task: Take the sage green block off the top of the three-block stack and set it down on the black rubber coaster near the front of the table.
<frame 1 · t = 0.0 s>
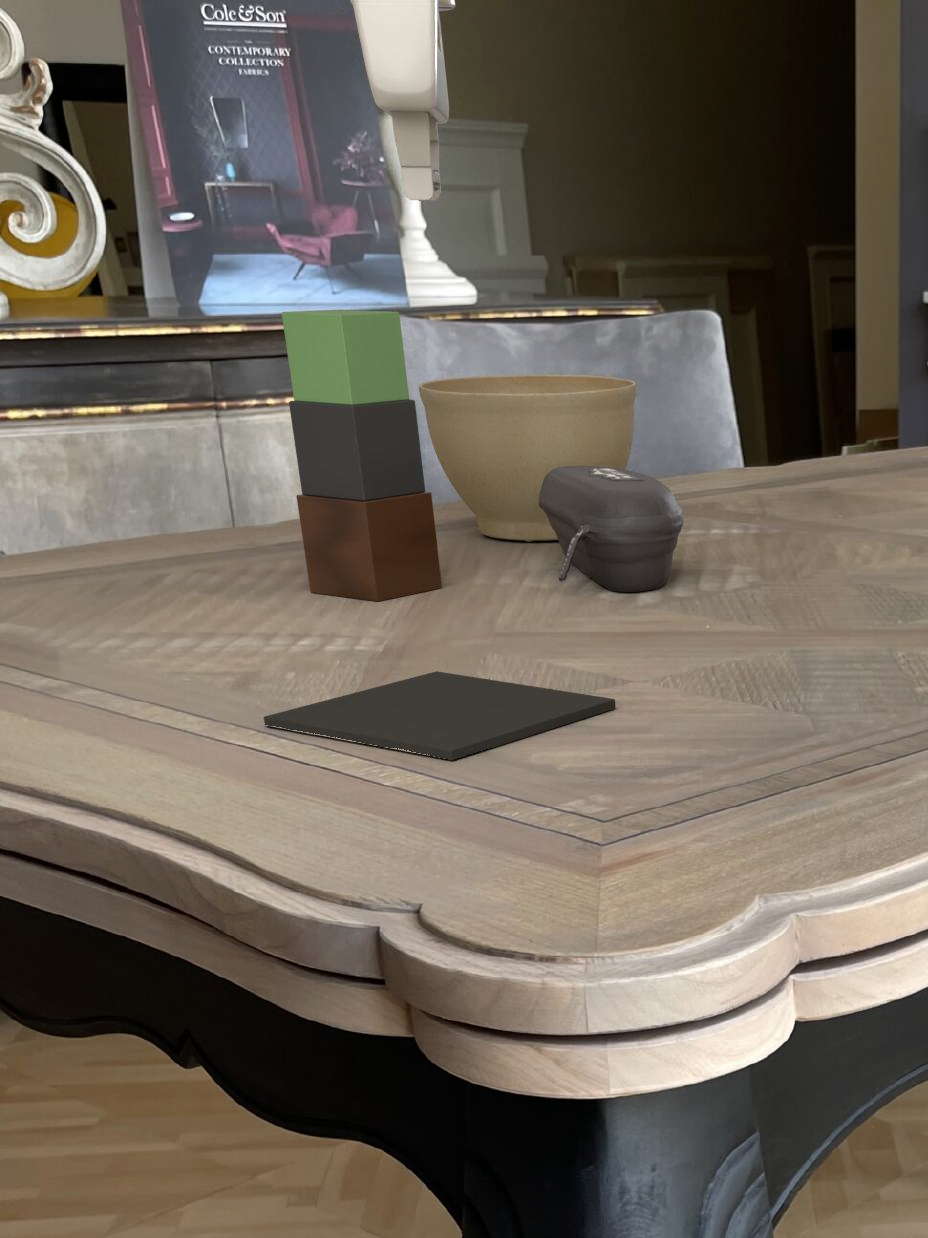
hand: (424, 201, 116), 23 cm above the table, tool pointing down, fingers open, 8 cm apart
planter bowl: (541, 536, 141), on the table
charcoal block: (364, 493, 116), point 6 cm above the table, touching green block, walnut block
glasses case: (607, 578, 125), on the table
coaster: (444, 717, 89), on the table
green block: (352, 400, 114), point 11 cm above the table, touching charcoal block
walnut block: (376, 590, 119), on the table, touching charcoal block
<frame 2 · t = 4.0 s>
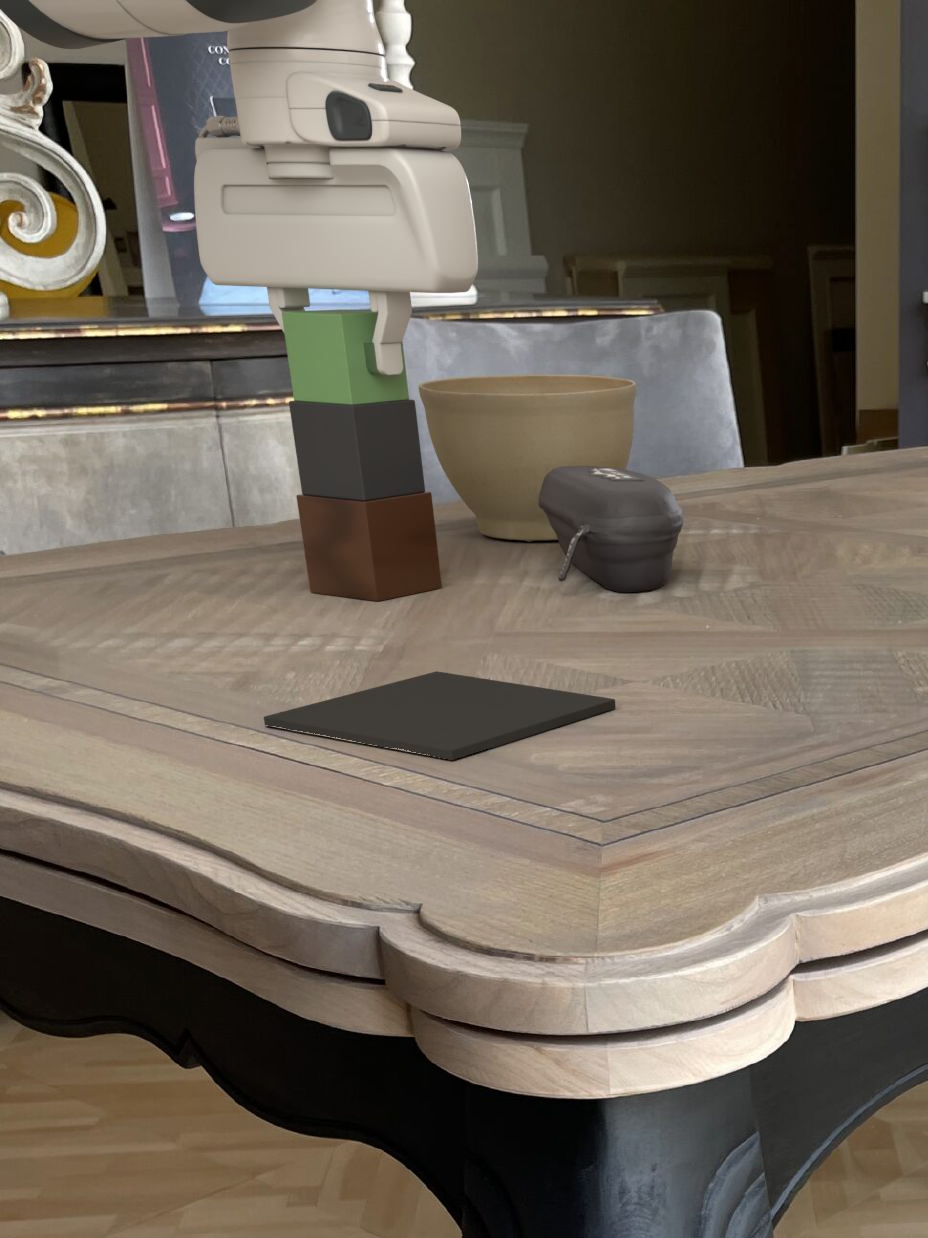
hand: (348, 372, 113), 13 cm above the table, tool pointing down, fingers closed on green block, 5 cm apart
green block: (352, 400, 114), point 11 cm above the table, touching charcoal block, gripper
everything else where it was.
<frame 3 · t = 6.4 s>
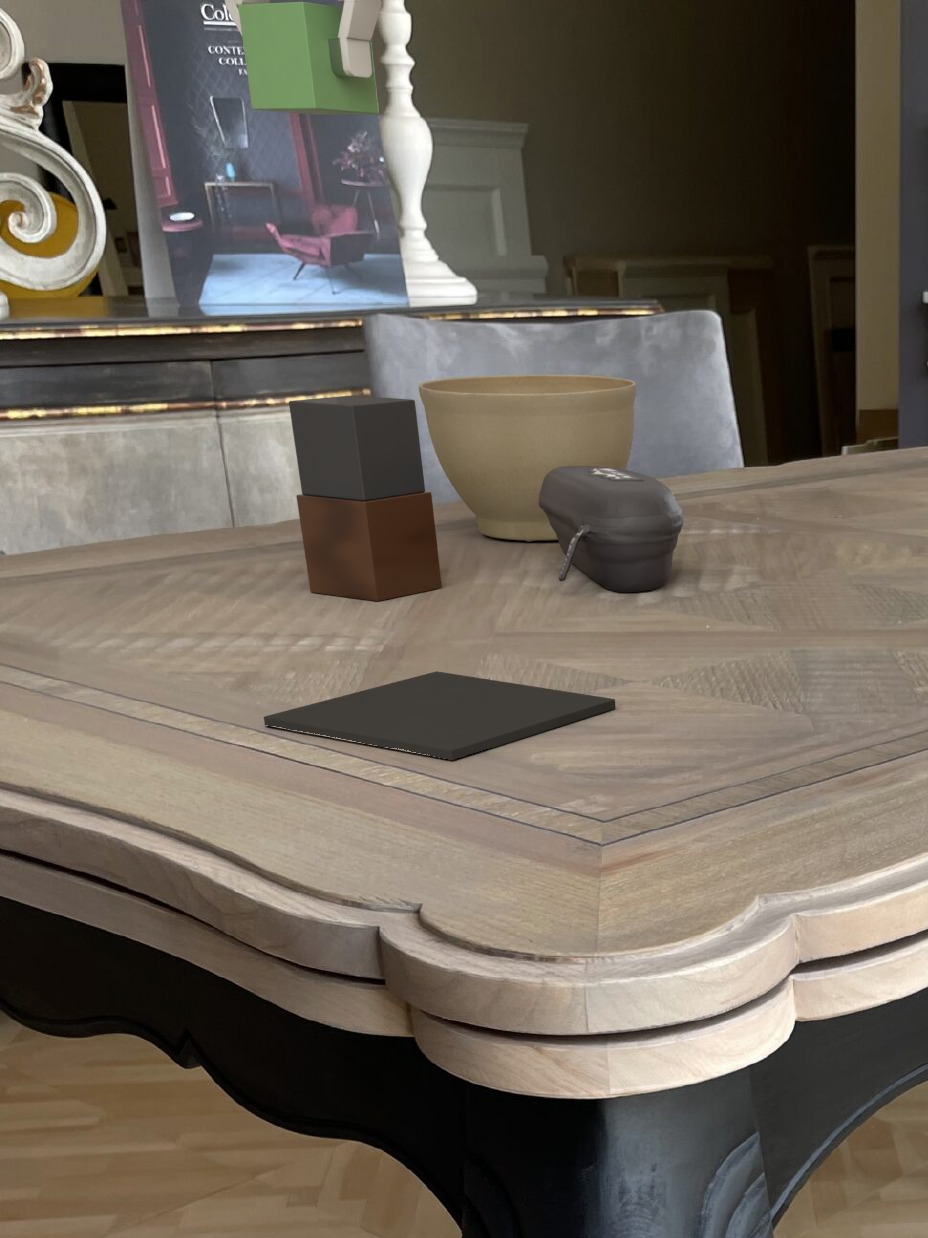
hand: (312, 78, 103), 29 cm above the table, tool pointing down, fingers closed on green block, 5 cm apart
charcoal block: (364, 493, 116), point 6 cm above the table, touching walnut block
green block: (316, 112, 104), point 27 cm above the table, touching gripper
everything else where it was.
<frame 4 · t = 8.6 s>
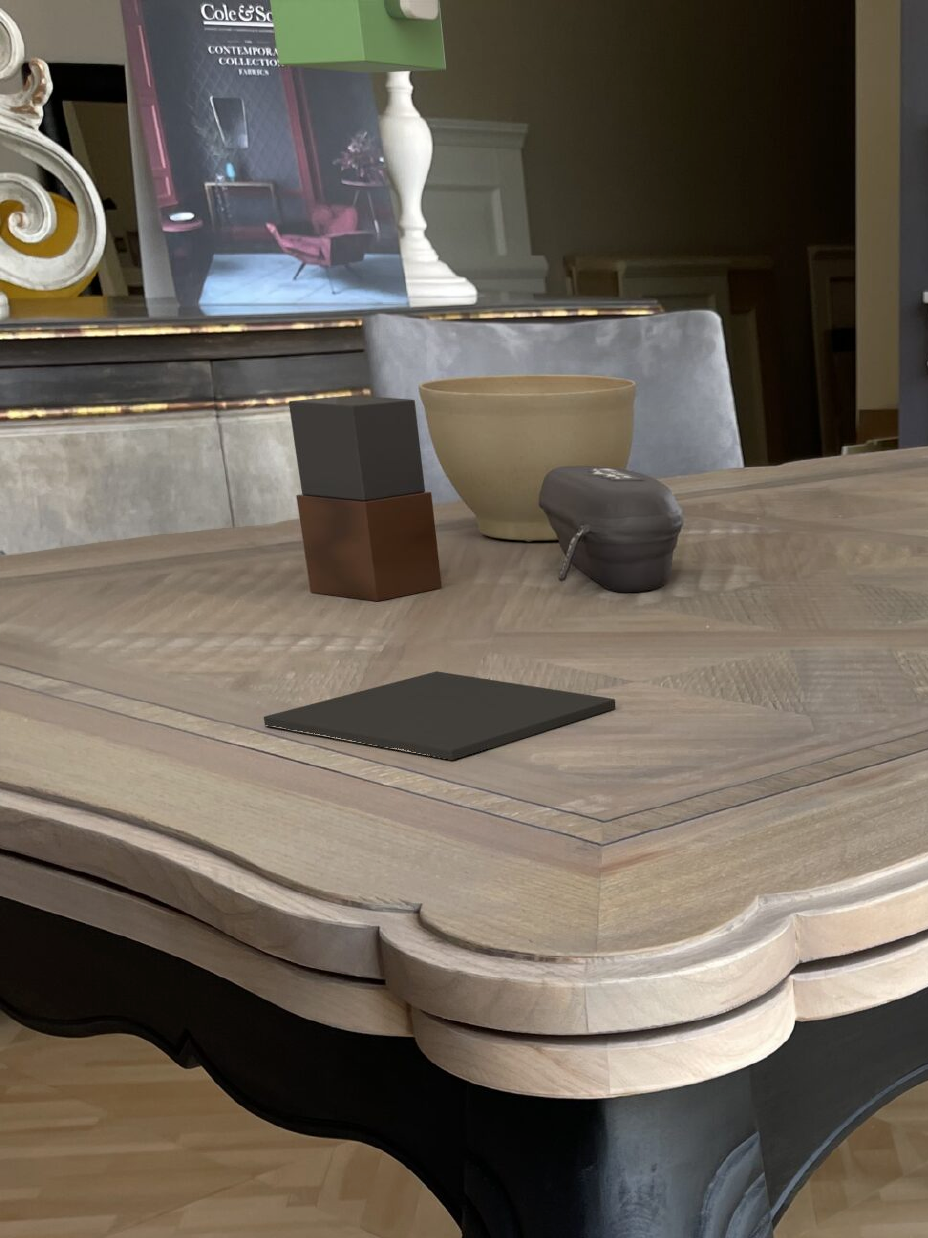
hand: (357, 22, 77), 29 cm above the table, tool pointing down, fingers closed on green block, 5 cm apart
green block: (363, 67, 78), point 27 cm above the table, touching gripper
everything else where it was.
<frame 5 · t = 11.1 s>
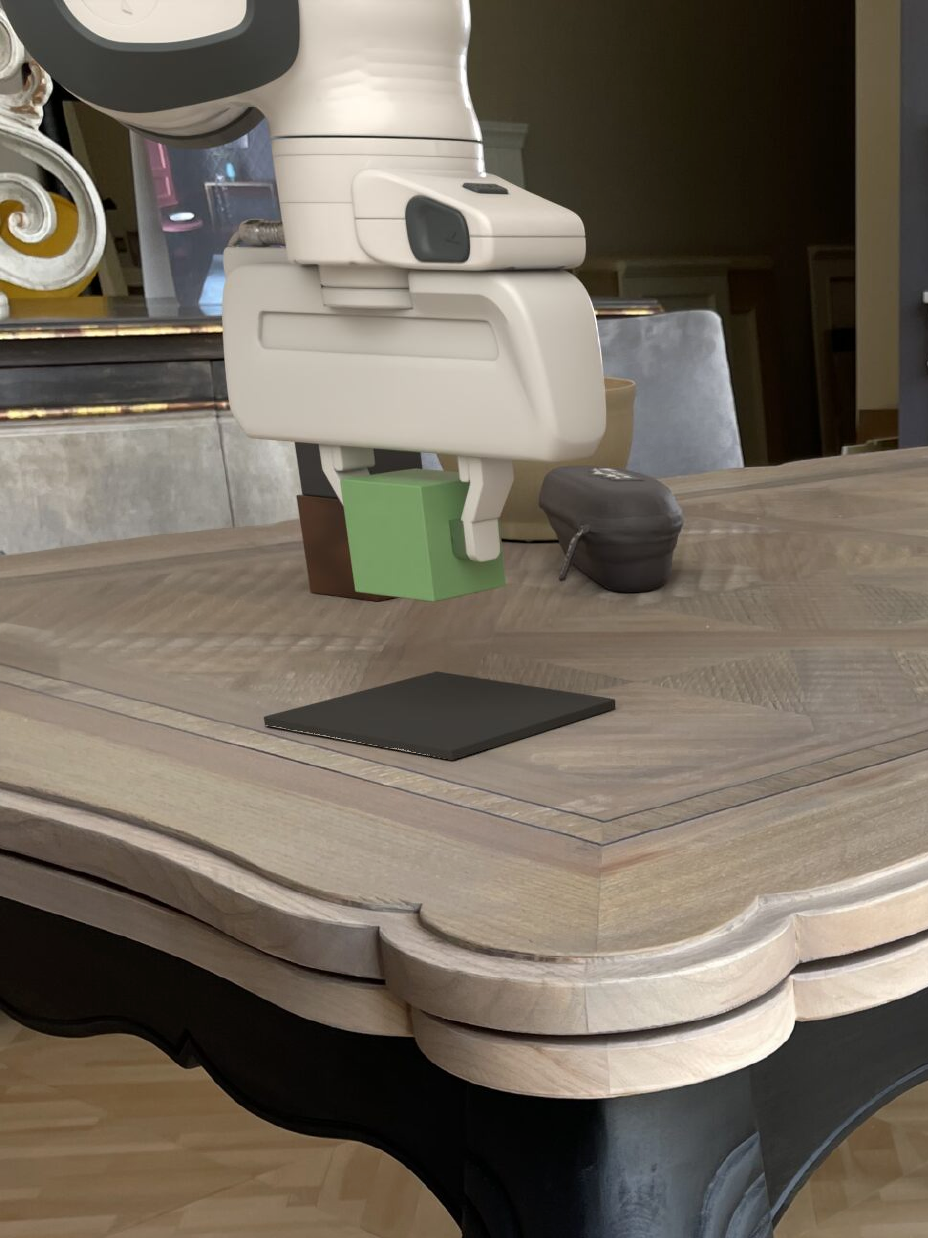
hand: (426, 553, 85), 8 cm above the table, tool pointing down, fingers closed on green block, 5 cm apart
green block: (431, 589, 86), point 6 cm above the table, touching gripper
everything else where it was.
when the fingers open (2 cm above the table, at t = 13.1 s): green block stays where it is, resting on coaster.
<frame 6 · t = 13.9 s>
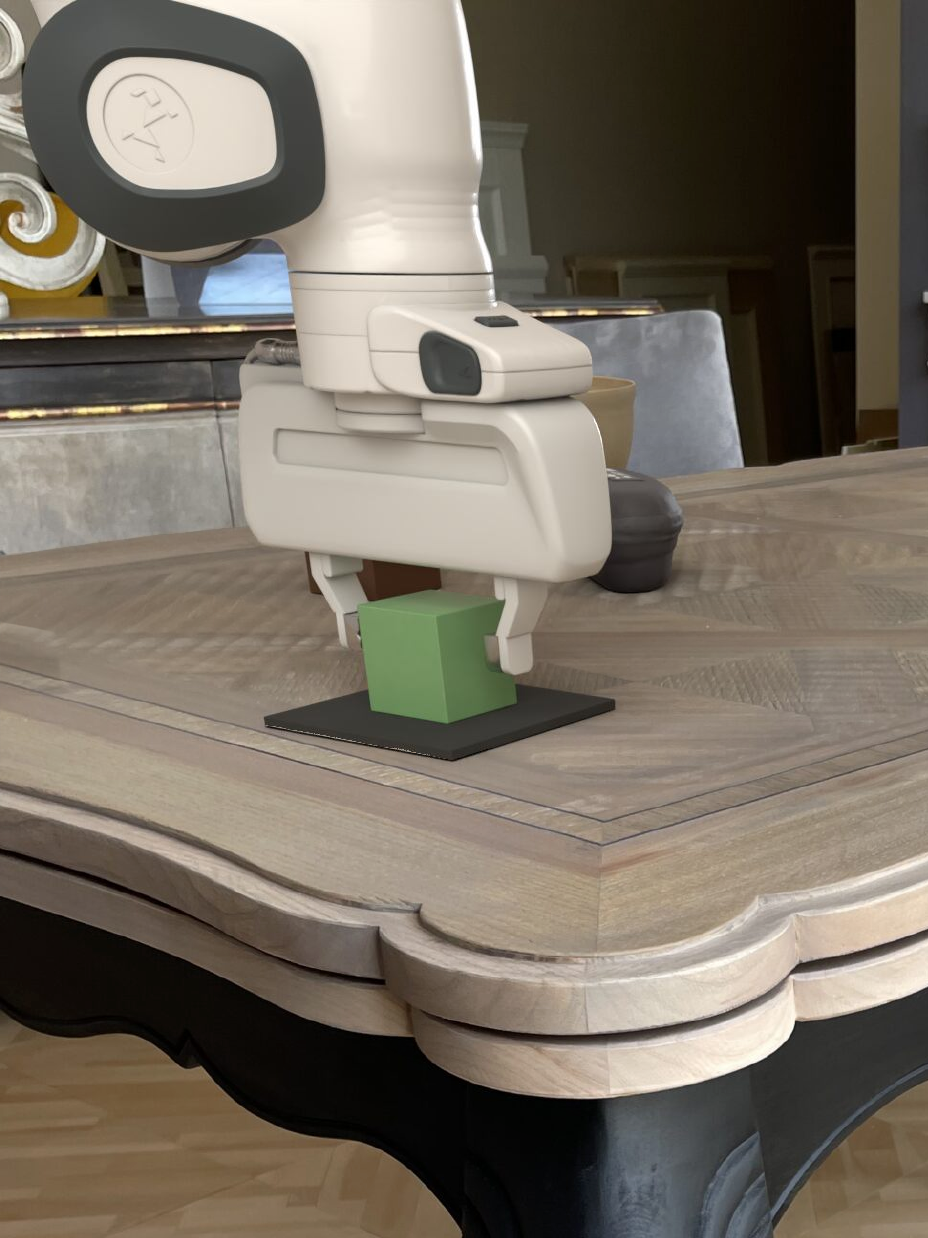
hand: (435, 660, 88), 3 cm above the table, tool pointing down, fingers open, 8 cm apart
green block: (444, 707, 89), resting on coaster
everything else where it was.
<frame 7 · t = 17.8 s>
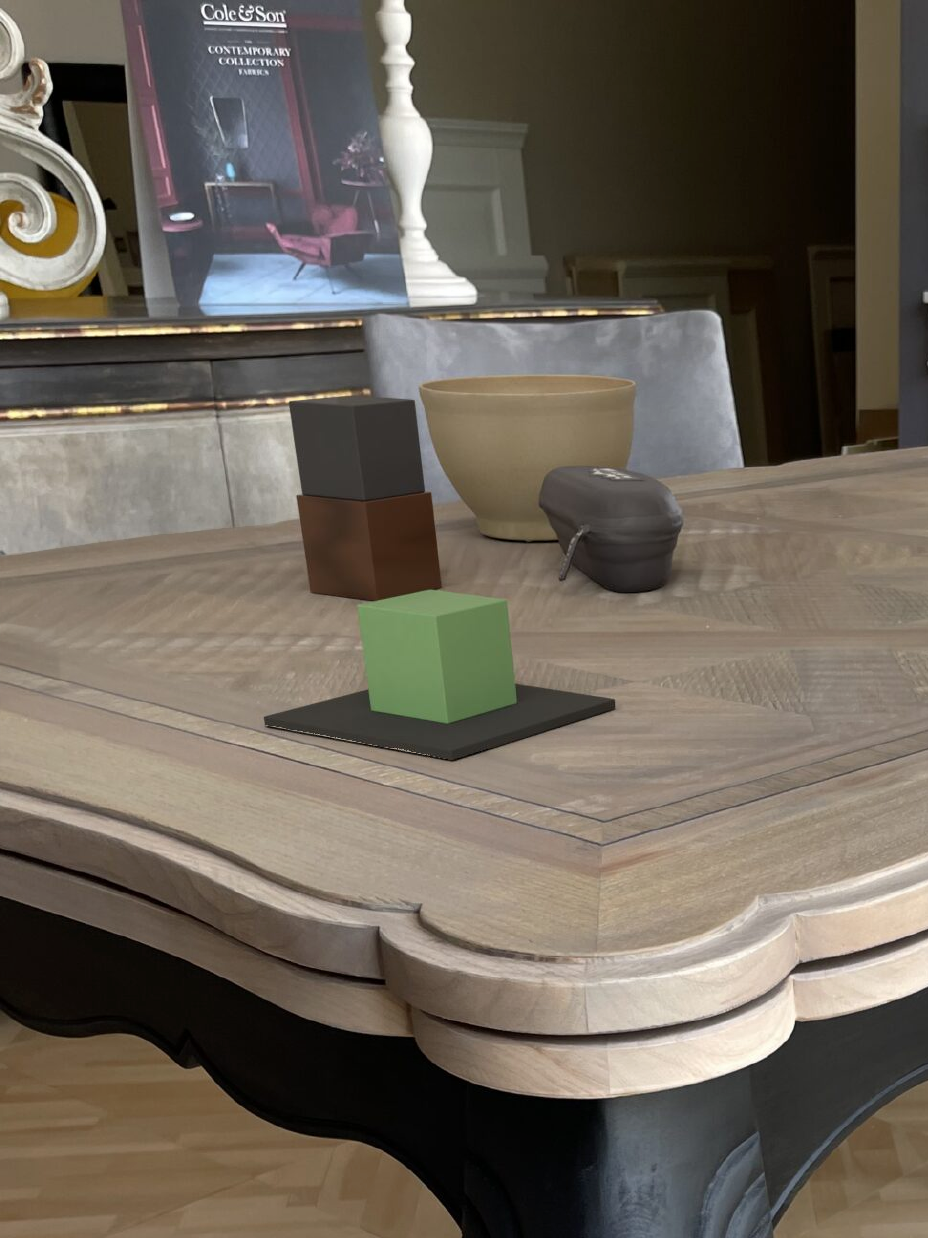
nothing on the table moved.
at the end: green block inside the target area on the coaster (0.1 cm from its centre), point 0.5 cm above the coaster's base; charcoal block moved 0.0 cm from its start; the gripper is holding nothing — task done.
